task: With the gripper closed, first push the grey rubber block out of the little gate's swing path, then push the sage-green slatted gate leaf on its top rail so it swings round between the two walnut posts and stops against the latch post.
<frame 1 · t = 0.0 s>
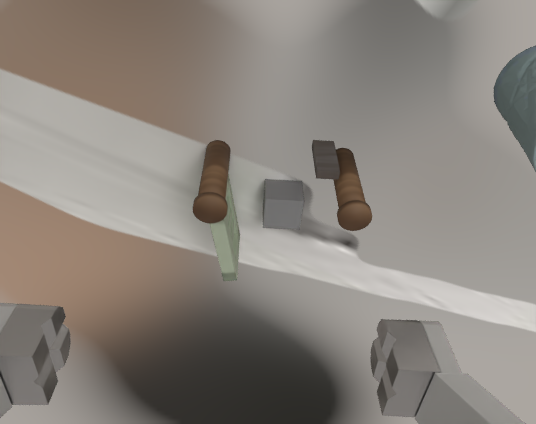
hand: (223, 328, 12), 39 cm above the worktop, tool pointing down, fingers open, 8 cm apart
hinge post: (218, 150, 54), on the worktop
teal cup: (533, 79, 49), on the worktop
rubber block: (282, 194, 59), on the worktop
latch post: (341, 158, 55), on the worktop
gate leaf: (225, 225, 55), point 5 cm above the worktop, hinge at -80.0°
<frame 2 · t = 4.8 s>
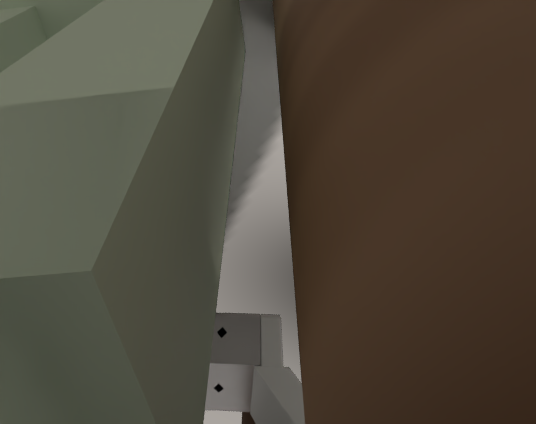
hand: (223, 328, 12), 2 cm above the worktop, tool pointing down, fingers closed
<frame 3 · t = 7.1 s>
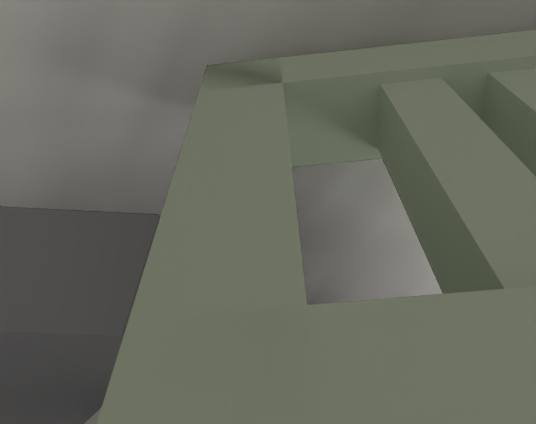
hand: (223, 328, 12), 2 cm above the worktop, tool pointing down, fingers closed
rubber block: (84, 275, 13), on the worktop, touching gripper
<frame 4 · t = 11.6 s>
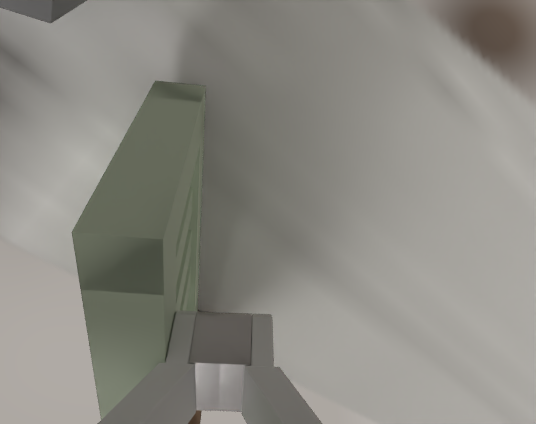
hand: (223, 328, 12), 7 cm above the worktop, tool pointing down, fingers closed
gate leaf: (161, 291, 15), point 5 cm above the worktop, hinge at -78.0°, touching gripper
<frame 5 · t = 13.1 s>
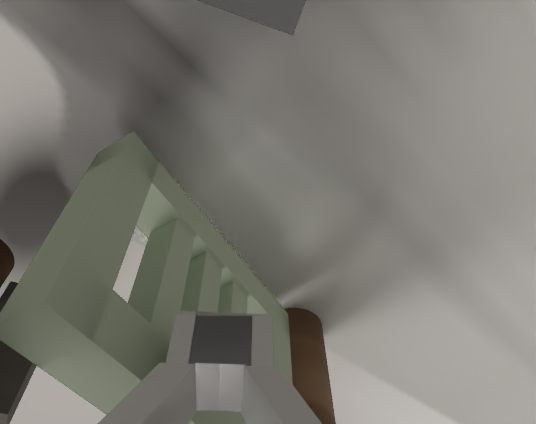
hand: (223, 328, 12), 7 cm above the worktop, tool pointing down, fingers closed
hinge post: (293, 328, 23), on the worktop
gate leaf: (193, 319, 15), point 5 cm above the worktop, hinge at -38.8°, touching gripper
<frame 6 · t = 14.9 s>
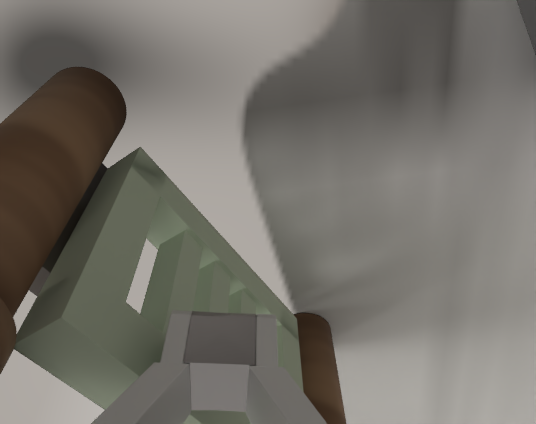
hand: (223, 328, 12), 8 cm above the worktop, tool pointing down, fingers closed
hinge post: (302, 332, 23), on the worktop
latch post: (86, 106, 17), on the worktop
gate leaf: (203, 327, 16), point 5 cm above the worktop, hinge at -0.8°, touching gripper
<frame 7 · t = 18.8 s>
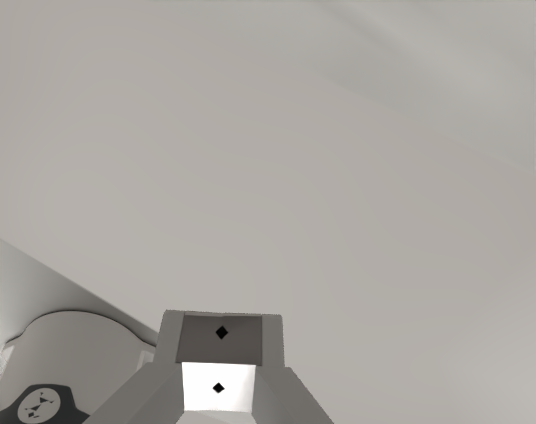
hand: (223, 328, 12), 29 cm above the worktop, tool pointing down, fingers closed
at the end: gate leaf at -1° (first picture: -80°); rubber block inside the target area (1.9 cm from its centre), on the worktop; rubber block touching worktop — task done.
